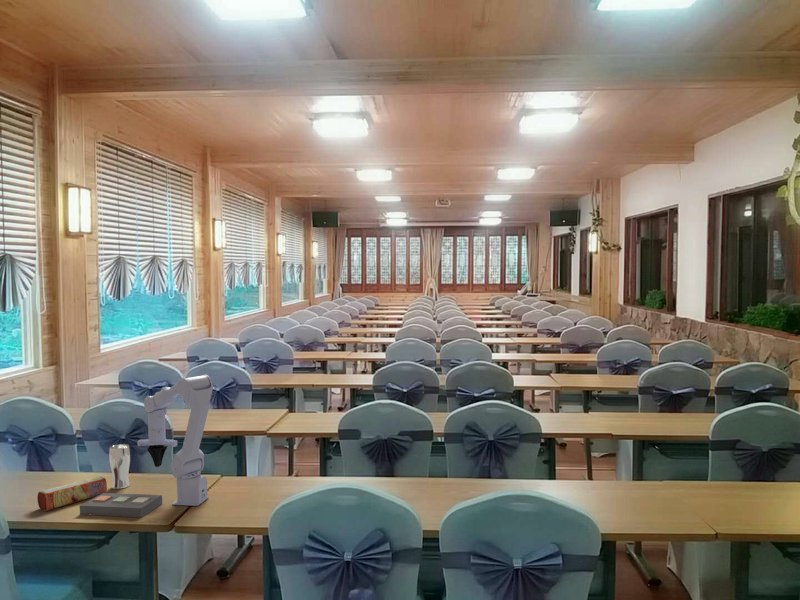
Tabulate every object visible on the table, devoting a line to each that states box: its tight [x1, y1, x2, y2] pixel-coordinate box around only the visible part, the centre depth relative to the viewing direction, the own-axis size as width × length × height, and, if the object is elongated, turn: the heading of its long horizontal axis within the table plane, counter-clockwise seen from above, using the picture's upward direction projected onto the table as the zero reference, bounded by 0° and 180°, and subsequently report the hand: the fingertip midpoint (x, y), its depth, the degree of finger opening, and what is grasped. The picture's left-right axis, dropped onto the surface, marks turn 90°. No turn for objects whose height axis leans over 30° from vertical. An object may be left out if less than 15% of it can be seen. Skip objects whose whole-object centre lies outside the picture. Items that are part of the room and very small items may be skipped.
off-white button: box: [132, 497, 150, 504], centre depth 198 cm, size 4×4×3 cm
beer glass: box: [108, 443, 131, 490], centre depth 222 cm, size 7×7×15 cm
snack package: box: [36, 475, 108, 512], centre depth 208 cm, size 21×7×7 cm, turn 144°
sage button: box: [112, 496, 131, 503], centre depth 199 cm, size 4×4×3 cm
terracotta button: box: [93, 496, 112, 502], centre depth 200 cm, size 4×4×3 cm
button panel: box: [79, 492, 163, 518], centre depth 199 cm, size 22×12×3 cm, turn 80°
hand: (158, 465), depth 215 cm, fingers closed
